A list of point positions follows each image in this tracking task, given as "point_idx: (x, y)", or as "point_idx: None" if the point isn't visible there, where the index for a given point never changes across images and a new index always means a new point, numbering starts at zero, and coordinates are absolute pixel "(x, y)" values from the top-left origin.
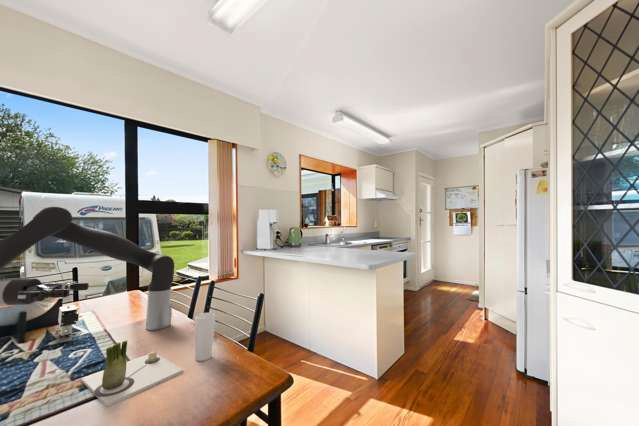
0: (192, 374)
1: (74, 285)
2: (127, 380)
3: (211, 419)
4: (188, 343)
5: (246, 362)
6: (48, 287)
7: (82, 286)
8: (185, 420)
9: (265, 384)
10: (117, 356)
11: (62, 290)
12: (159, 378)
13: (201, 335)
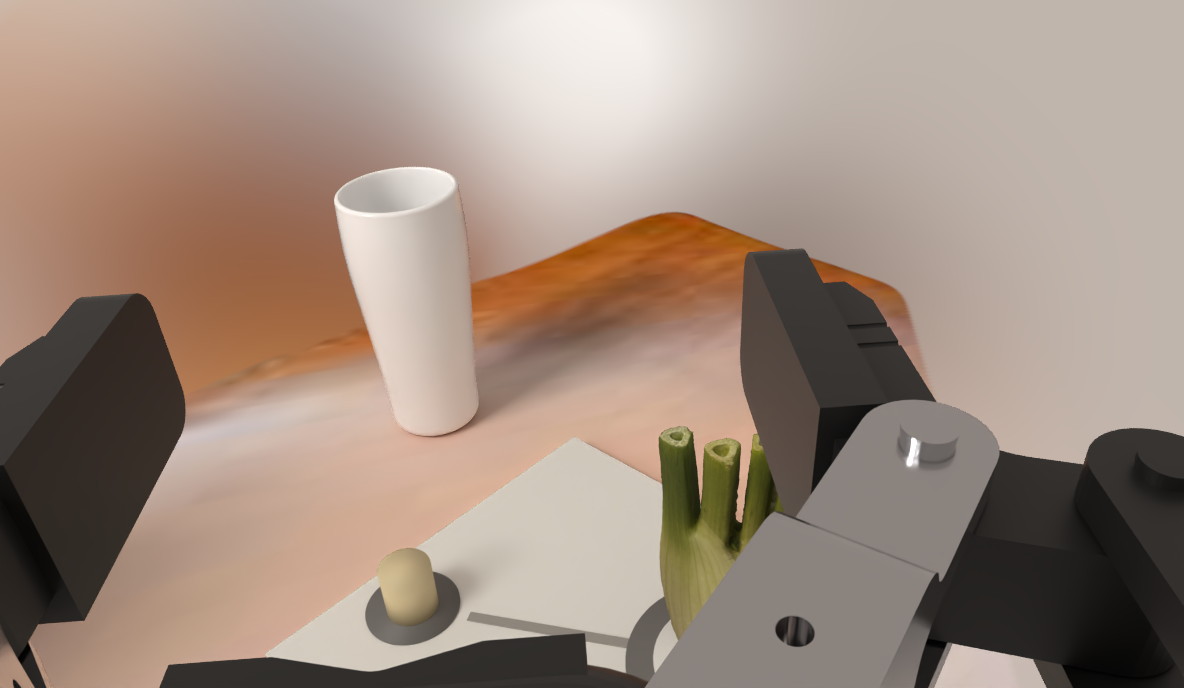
0: (604, 412)
1: (41, 492)
2: (669, 624)
3: (903, 309)
4: (171, 525)
5: (531, 289)
6: (791, 520)
7: (130, 399)
8: (922, 357)
9: (704, 240)
10: (734, 514)
11: (823, 299)
12: (655, 495)
13: (469, 283)
